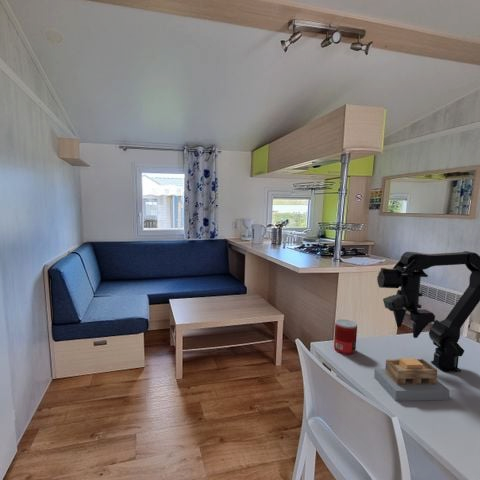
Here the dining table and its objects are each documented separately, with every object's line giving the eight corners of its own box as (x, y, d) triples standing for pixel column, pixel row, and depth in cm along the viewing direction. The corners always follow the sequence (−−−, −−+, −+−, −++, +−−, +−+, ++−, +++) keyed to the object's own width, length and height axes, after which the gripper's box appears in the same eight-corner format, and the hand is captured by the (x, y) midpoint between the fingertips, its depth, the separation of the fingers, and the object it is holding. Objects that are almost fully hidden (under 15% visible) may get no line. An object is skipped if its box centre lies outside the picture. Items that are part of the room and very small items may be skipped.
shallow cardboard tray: (421, 372, 95) (422, 359, 95) (436, 384, 89) (437, 370, 88) (385, 372, 95) (386, 359, 94) (397, 385, 88) (398, 370, 88)
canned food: (357, 356, 112) (359, 327, 111) (334, 353, 113) (336, 325, 112) (353, 346, 119) (355, 320, 118) (332, 344, 121) (334, 318, 120)
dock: (421, 376, 98) (422, 368, 98) (448, 399, 86) (449, 390, 86) (374, 377, 97) (374, 368, 97) (395, 400, 86) (396, 390, 85)
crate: (414, 364, 93) (415, 358, 93) (422, 371, 90) (423, 364, 89) (399, 364, 93) (399, 358, 93) (406, 371, 89) (407, 364, 89)
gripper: (373, 282, 112) (371, 322, 114) (404, 296, 93) (400, 344, 95) (402, 282, 113) (399, 322, 114) (438, 296, 94) (433, 344, 96)
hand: (406, 332), depth 105 cm, fingers open, 9 cm apart
